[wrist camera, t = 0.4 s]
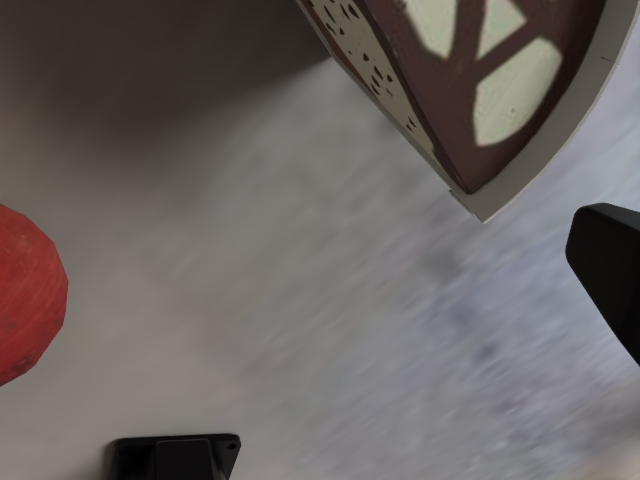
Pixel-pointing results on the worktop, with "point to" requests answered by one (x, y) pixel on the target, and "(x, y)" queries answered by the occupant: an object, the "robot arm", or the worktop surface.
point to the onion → (27, 294)
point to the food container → (480, 79)
